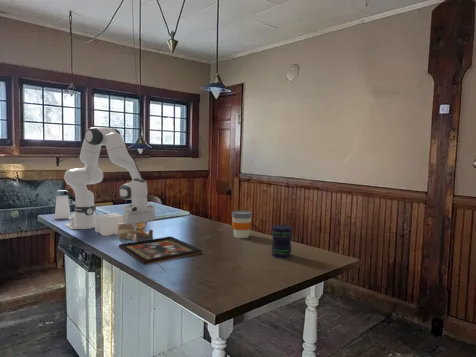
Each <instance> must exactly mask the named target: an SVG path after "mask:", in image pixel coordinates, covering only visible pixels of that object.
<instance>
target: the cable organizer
mask: <svg viewBox="0 0 476 357" xmlns="http://www.w3.org/2000/svg"><path fill="white" fill-rule="evenodd" d="M120 223H123V215H120V214H119V213H107V214H105V213H104V214H97V216H96V217H95V227H94V231H95V232H96V233H98V234H100V235H101V236H105V237H107V236H111V235H116V236H118V224H120Z"/></svg>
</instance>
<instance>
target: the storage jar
mask: <svg viewBox="0 0 476 357" xmlns="http://www.w3.org/2000/svg"><path fill="white" fill-rule="evenodd" d="M292 230H293V229H292V226H291V225H288V224H274V225H272V230H271V237H272V244H271V256H272V257H273V258H276V259H289V258H291V256H292V243H291V242H292V241H291V240H292V237H293V236H292V234H293V231H292Z"/></svg>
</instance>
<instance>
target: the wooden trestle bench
mask: <svg viewBox="0 0 476 357" xmlns="http://www.w3.org/2000/svg"><path fill="white" fill-rule="evenodd" d="M143 224H144V223H143ZM135 226H136V225H135ZM153 233H154V230H153V229H149V230H148V232H146V229H143V235H140V233H136V231H134V228H133V226H132V224H130V225H125V224H124V223H120V224H118V235H117V239H118V240H124V239H127V240H132V241H133V242H138V241H145V240H148V239H149V240H151V239H154V238H153V237H154V234H153Z"/></svg>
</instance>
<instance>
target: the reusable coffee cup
mask: <svg viewBox="0 0 476 357" xmlns="http://www.w3.org/2000/svg"><path fill="white" fill-rule="evenodd" d="M252 217H253V212H252V211H250V210H245V209H244V210H241V209H240V210H239V209H238V210H232V212H231V218H232V220H231V225H232V229H233V236H234V238H237V239H246V238H249V236H250V230H251V229H252V228H251V227H252Z"/></svg>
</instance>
